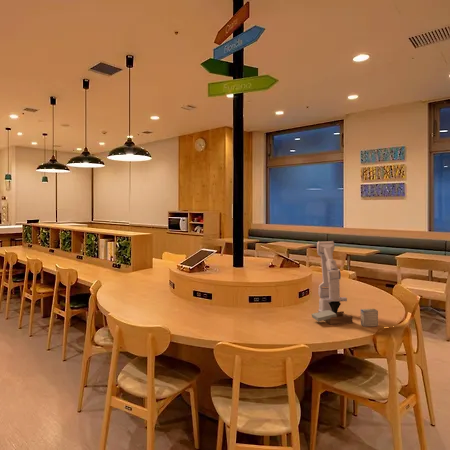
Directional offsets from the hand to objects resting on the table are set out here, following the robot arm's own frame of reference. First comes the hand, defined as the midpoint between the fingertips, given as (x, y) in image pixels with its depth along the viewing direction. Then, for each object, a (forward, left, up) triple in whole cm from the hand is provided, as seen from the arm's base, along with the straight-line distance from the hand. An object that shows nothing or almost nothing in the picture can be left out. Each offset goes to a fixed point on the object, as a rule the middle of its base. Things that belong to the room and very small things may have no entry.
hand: (334, 314), depth 203 cm
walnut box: (0, +2, -4) cm, 4 cm away
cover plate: (0, -6, -1) cm, 6 cm away
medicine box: (+11, +15, -4) cm, 19 cm away
